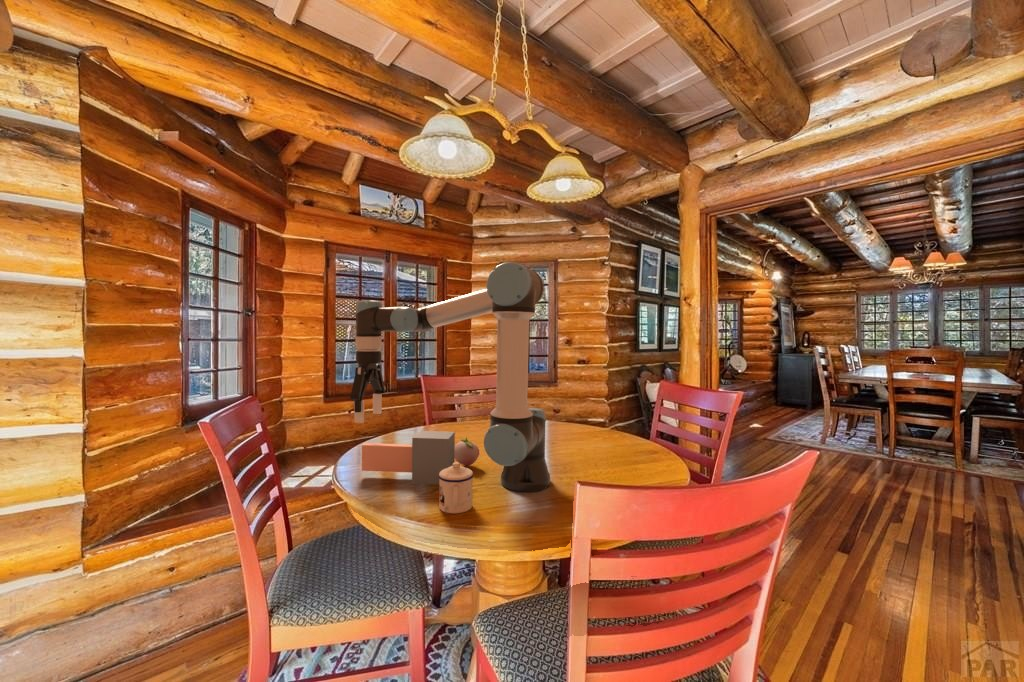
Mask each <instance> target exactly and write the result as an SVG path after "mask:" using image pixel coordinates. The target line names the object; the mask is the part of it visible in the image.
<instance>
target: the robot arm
mask: <svg viewBox="0 0 1024 682" xmlns="http://www.w3.org/2000/svg"><path fill="white" fill-rule="evenodd" d="M544 285H545V284H544V282H543V279H542V276H540V274H539V273H538V272H536V271H535V270H533V269H531V268H528V267H526V266H525V265H524V264H522V263H520V262H514V261H505V262H502V263H500V264H498V265H496V266H495V267H494V268H493V269H492V270H491V272H490V273H489V274H488V276H487V280H486V288H484V289H481V290H478V291H473V292H470V293H468V294H464V295H461V296H458V297H457V296H456V297H454V298H451V299H448V300H445V301H440V302H436V303H433V304H430V305H427V306H423V307H419V308H413V307H409V306H402V305H401V306H391V307H384V306H382V302H381V301H380V300H379V301H378V300H359V301H357V302H356V308H355V329H356V331H355V333H356V334H355V340H354V342H355V343H356V344H355V345H356V347H355V348H356V349H357V350H356V351H355V362H356V363H357V364H360V367H358V366H357V367H355V369H354V370H355V371H354V379H353V383H352V388H351V392H350V398H349V399H350V402H354V403H353V408H354V409H353V411H354V412H353V414H354V415H353V416H354V417H353V418H354V419H353V421H354V422H353V424H365V400H363V399H364V397H365V393H366V390H367V387H368V385H369V383H370V386H371V388H372V390H373V394H372V414H373V415H382V412H383V411H382V410H383V409H382V407H383V405H382V403H383V402H382V401H383V397H382V395H383V394H385V392H386V390H385V384H384V383H385V382H384V379H383V373H382V364H381V362H382V351H381V349H382V348H383V347H382V344H383V343H382V332H390V333H391V332H393V333H395V332H396V333H397V332H398V333H407V332H409V333H410V332H411V333H412V332H413V333H414V332H415V333H425V332H426V333H427V332H430V331H432V330H434V328H439V327H442V326H446V325H451V324H455V323H457V322H461V321H467V320H468V319H473V318H476V317H480V316H484V315H488V314H493V316H494V317H495V318H496V319H497V336H496V337H497V339H496V342H497V343H496V345H497V348H496V350H497V351H496V387H495V388H496V390H495V391H496V394H495V396H496V397H495V407H494V408H493V409H492V410H491V411H490V414H489V415H490V416H489V417H490V420H489V423H490V424H489V428H488V429H487V430H486V432H485V435H484V438H483V447H484V450H485V453H486V455H487V457H489V458H490V459H491V461H493V463H495V464H497V465H500V466H502V467H503V469H502V471H501V473H500V483H501V484H500V485H502V486H503V487H504V488H506V489H509V490H510V491H515V492H516V491H517V492H523V493H524V492H525V493H526V492H527V493H529V492H531V491H532V492H539V491H542V489H543V490H545V489H548V488H549V487H550V485H551V474H550V472H549V468H548V466H547V462H546V422H547V419H546V412H545V410H544V409H542V408H536V407H535V408H534V407H528V399H529V398H528V391H529V390H528V388H529V387H528V386H529V384H528V383H529V349H530V348H529V341H530V334H529V333H530V320H531V318H532V317H533V316H534V315H535V314H536V305H537V304H538V303H539V302H540V301H541V299H542V297H543V295H544V292H545V291H544V290H545V287H544ZM379 363H380V364H379ZM548 486H549V487H548ZM532 492H531V493H532Z"/></svg>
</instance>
